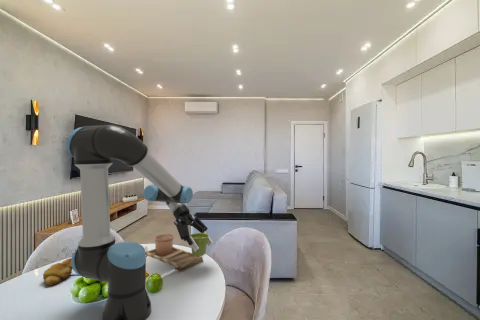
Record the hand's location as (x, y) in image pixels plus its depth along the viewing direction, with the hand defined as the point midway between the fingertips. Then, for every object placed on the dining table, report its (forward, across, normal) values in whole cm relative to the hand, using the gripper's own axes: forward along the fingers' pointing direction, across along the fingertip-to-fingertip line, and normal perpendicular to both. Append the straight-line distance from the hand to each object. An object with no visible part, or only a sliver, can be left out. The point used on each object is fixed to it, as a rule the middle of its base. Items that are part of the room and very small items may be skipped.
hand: (204, 246), depth 116 cm
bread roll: (-27, +38, -46) cm, 65 cm away
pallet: (-9, -5, -26) cm, 28 cm away
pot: (-15, -6, -30) cm, 34 cm away
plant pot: (+1, 0, -5) cm, 5 cm away
